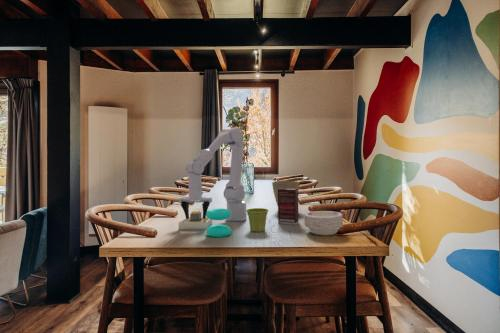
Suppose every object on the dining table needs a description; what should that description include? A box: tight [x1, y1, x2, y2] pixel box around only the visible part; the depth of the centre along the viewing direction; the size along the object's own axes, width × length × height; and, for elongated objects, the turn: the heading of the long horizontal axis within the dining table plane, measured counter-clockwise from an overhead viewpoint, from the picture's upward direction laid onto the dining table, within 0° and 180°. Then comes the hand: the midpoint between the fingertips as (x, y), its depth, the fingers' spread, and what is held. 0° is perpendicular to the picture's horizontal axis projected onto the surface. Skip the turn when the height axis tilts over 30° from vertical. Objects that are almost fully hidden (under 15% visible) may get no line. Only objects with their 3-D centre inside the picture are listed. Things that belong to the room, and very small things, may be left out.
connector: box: [189, 210, 202, 221], centre depth 156 cm, size 4×4×6 cm
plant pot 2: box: [271, 180, 301, 206], centre depth 192 cm, size 15×15×16 cm
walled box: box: [178, 216, 213, 231], centre depth 156 cm, size 12×12×3 cm
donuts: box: [205, 208, 232, 238], centre depth 141 cm, size 10×10×10 cm
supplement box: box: [277, 188, 300, 225], centre depth 161 cm, size 9×5×16 cm, turn 65°
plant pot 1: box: [246, 207, 269, 233], centre depth 147 cm, size 9×9×9 cm
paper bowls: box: [304, 210, 344, 236], centre depth 142 cm, size 15×15×8 cm
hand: (195, 218), depth 156 cm, fingers open, 7 cm apart
